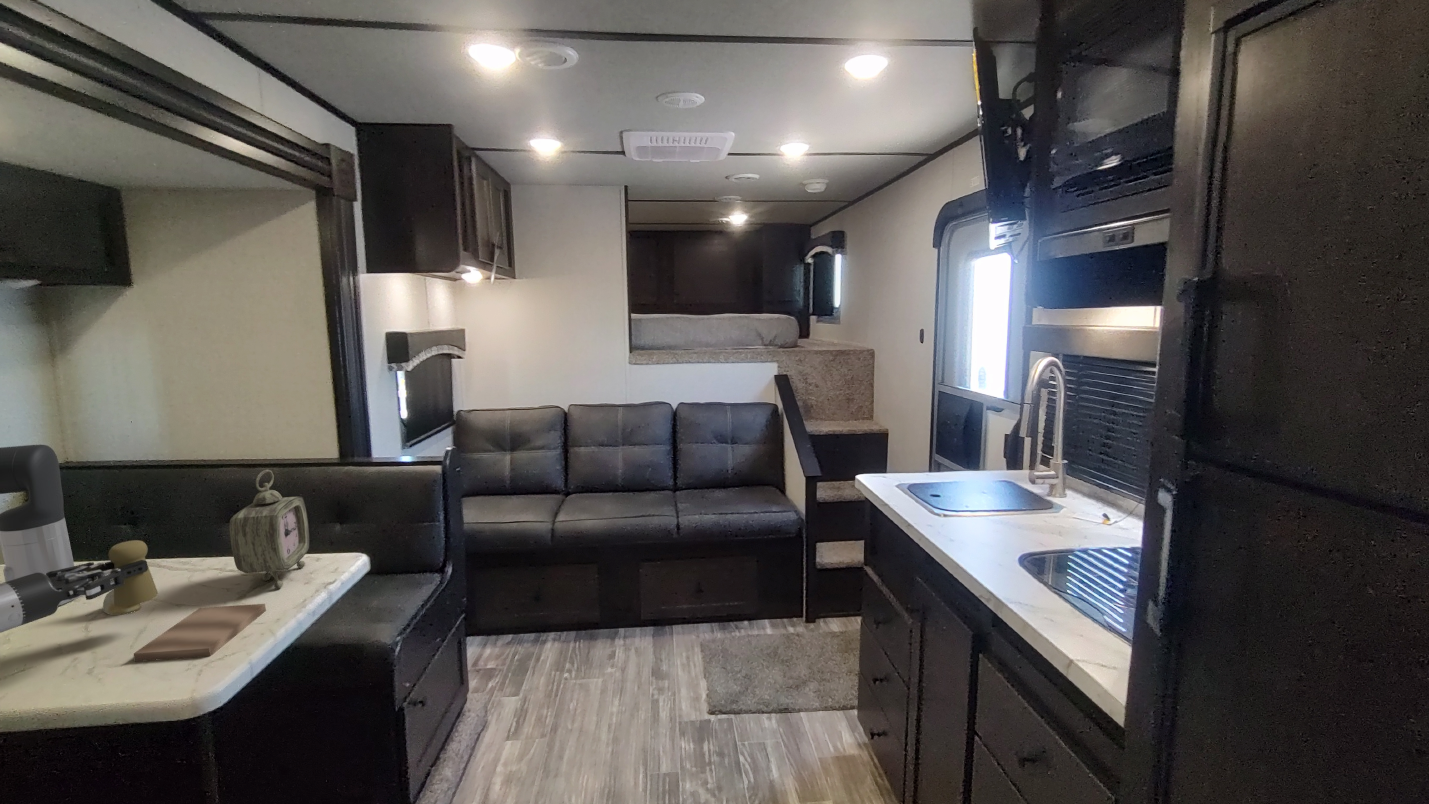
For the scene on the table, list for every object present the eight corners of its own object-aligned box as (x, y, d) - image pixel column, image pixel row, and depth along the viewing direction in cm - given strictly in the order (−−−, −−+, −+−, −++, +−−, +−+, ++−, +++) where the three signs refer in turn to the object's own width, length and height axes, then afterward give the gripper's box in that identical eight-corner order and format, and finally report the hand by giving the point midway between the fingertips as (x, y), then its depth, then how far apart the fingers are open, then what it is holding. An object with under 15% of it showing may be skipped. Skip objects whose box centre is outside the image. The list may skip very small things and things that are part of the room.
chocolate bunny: (107, 621, 119) (98, 572, 118) (102, 608, 124) (93, 562, 123) (145, 610, 123) (137, 563, 122) (139, 598, 128) (131, 553, 127)
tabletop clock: (284, 591, 130) (268, 478, 126) (236, 596, 129) (218, 481, 124) (313, 563, 144) (300, 461, 140) (270, 567, 143) (255, 463, 138)
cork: (108, 609, 110) (97, 552, 108) (121, 595, 115) (111, 540, 113) (152, 602, 113) (142, 545, 111) (162, 588, 118) (153, 534, 116)
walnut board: (210, 656, 107) (208, 648, 106) (134, 661, 105) (133, 653, 105) (266, 610, 122) (265, 603, 122) (201, 614, 121) (199, 607, 121)
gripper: (25, 591, 95) (158, 549, 111) (-19, 576, 100) (114, 538, 116) (34, 636, 96) (164, 588, 112) (-10, 618, 102) (120, 575, 117)
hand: (138, 563), depth 114 cm, fingers closed on cork, 4 cm apart
